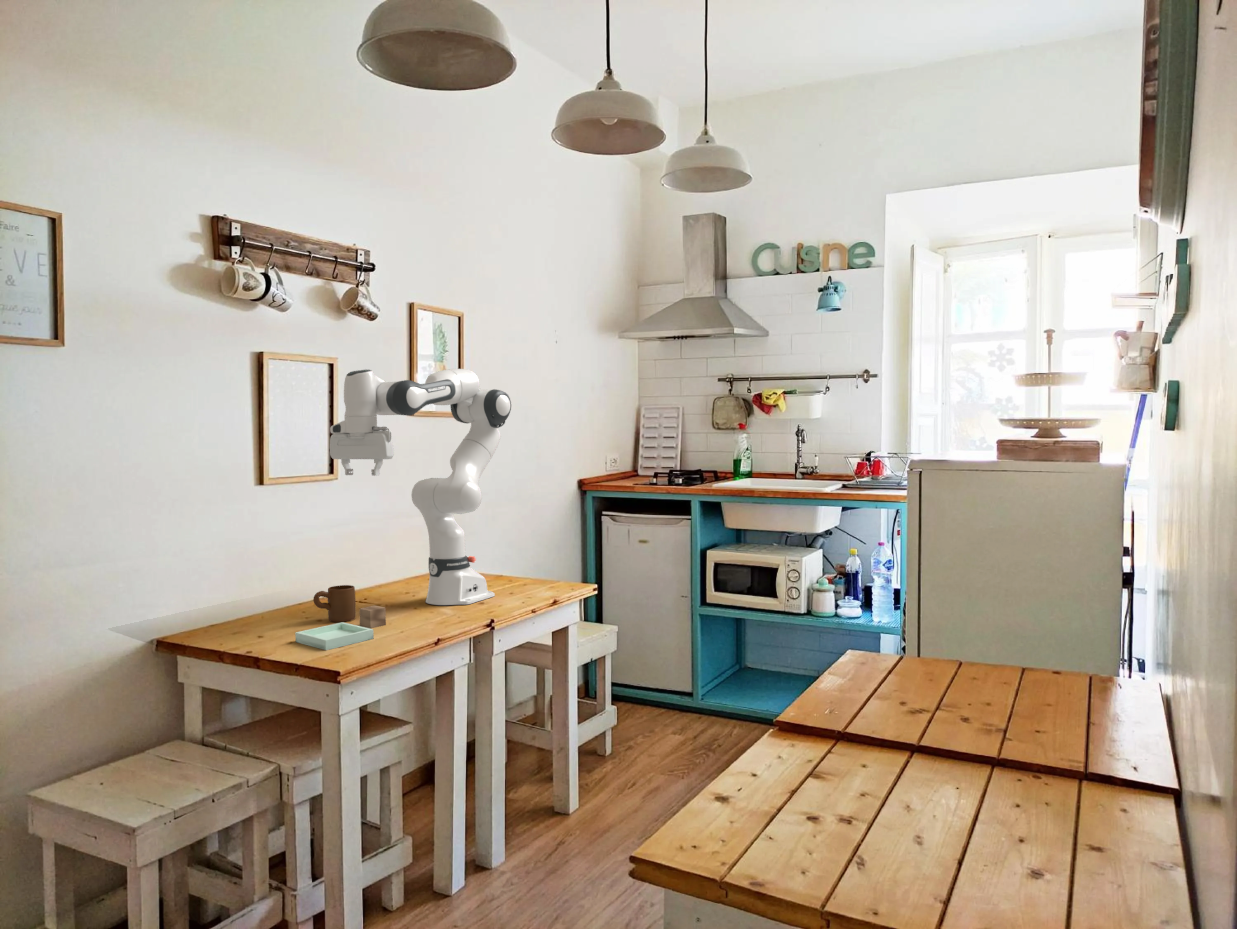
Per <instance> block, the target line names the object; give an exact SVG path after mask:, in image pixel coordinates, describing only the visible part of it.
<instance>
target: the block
mask: <svg viewBox="0 0 1237 929" xmlns="http://www.w3.org/2000/svg"><path fill="white" fill-rule="evenodd" d="M386 615H387V612H386V607H384V606H379V605H370V606H366V607H361V608H359V626H361V627H365V628H370V629H376V628H378V627H383V626H386V625H387V620H386V619H387V617H386Z"/></svg>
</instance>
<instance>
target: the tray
mask: <svg viewBox="0 0 1237 929" xmlns="http://www.w3.org/2000/svg"><path fill="white" fill-rule="evenodd" d="M294 634H295V636H294V637H295V643H298V644H302V645H305V646H309V647H313V648H316V649H319V650H324V651H329V650H332V649H337V648H342V647H345V646H350V645H354V644H358V643H361V642H366V641H370V640H374V636H375V635H374V634H375V633H374V628H366V627H362V626H360V625H356V624H351V623H348V622H336V623H332V624H329V625H322V626H319V627H313V628H309V629H305V630H302V631H301V630H299V631H297V632H295V633H294Z"/></svg>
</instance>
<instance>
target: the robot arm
mask: <svg viewBox="0 0 1237 929" xmlns="http://www.w3.org/2000/svg"><path fill="white" fill-rule="evenodd" d="M480 385H481V384H480V379H479V377H478V375H477V374H476V372H474V371H472V370H471V369H468V368H450V369H443V370H439V371H436V372H433V373H430V374H429V375H428V376H427V377H426V378H425V382H424V383H418V382H416V381H413V380H409V379H406V380H405V379H404V380H399V381H386V380H383V379H382V378H381V377H379V376H377V375H376V374H375V373H374V371H373V370H372V369H361V370H358V369H357V370H352V371H350V372H348V373H347V374H346V375H345V377H344V382H343V403H344V405H345V412H344V414H343V415H344V420H342V421H340V422H338V423H336V424H333V425H331V426H330V427H329V430H330V433H331V436H330V438H329V456H330V457H331V458H332V459H333V460H341V461H340V463H341V465H342V467H343V469H344V475H345V476H353V475H354V469H353V468H351V465H350V463H351V460H373V462H374V466H373V469H371V476H374V477H375V476H376V477H377V476H380V474H381V473H380V470H381V468H382V466H383V463H384V462H383V461H384V460H392V459H393V457H394V455H395V452H394V451H395V450H394V445H393V438H392V430H391V429H390V428H388V427H387V426H378V420H377V419H378V416H407V417H408V416H413V415H415V414H417V413H419V412H420V411H421V410H422V409H423V408H424V407H426V406H428V405H431V404H432V405H434V406H449V405H450V406H449V407H450V411H451V415H452V417H453V418H454V420H456V421H457V422H459V423H461V424H462V423H463V424H470V429H469V431H468V433H467V434H466V435H465V436H464V438H463V439H462V441H461V442H460V443H459V445H458V446H457V448H456V450H455V451H454V452H453V454H452V455H451V456H450V459H449V464H450V468H451V470H452V472H451V474H450V475H449V476H447V477H445V478H444V477H430V478H426V479H425V478H424V479H421V480H418V481H417V482H415V484H414V485H413V487H412V490H411V501H412V503H413V505H414V507H416V508H417V509H418V510H419V512H420V513H421V515H422V517H423V520H424V522H425V525H426V527H427V528H426V529H427V532H428V543H429V544H428V545H429V556H428V572H429V580H428V587H427V588H428V590H427V595H426V599H425V603H426V604H429V605H434V606H455V605H456V606H457V605H463V606H464V605H465V606H466V605H471V604H474V603H477V602H480V601H483V600H487V599H489V598H493V597H495V596H496V595H495V594H496V593H495V592H494V591H491V590H488V584H487V580H486V577H484V576H483V575H482V574H481V573H479V572H478V571H476V569H474V568H472V567H471V563H472V564H473V563H476V561H477V558H476V557H475V556H472V555H470V556H467V555H466V533H465V530H464V529H463V528H462V527H461V526H460V525H459V524H458V523H457V521H456V519H455V516H454V514H456V515H463V514H468V513H469V514H470V513H472V512H475V511H477V510H478V508H479V507H480V505H481V503H482V499H483V497H482V496H483V495H482V490H481V488H480V486H479V483H480V482H479V481H480V478H481V476H482V474H483V472H484V471H485V469H486V467H487V466H488V464H489V462H490V461H491V459H492V458H493V456H494V454H495V453H496V450H497V448H498V446H499V443H500V441H501V437H502V436H501V432H500V430H499V428H501V427H503V426H504V425H505V424H506V420H507V419H508V417H510V415H511V414H510V413H511V410H512V401H511V397H510V396H509V394H508V393H507V392H505V391H504V390H501V389H495V388H494V389H481V388H480ZM377 415H378V416H377Z"/></svg>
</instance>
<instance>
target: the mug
mask: <svg viewBox="0 0 1237 929" xmlns="http://www.w3.org/2000/svg"><path fill="white" fill-rule="evenodd" d="M320 597H321V598H326V599H327V602H321V601H320ZM313 603H314V605H315V607H317V608H318V609H322V610H323V609H325V610H327V611H328V614H327V615H328V617H327V618H328V620H329V621H330V622H332V623H341V622H344V623H347V622H351V621H354V620H355V619H356V616H357V614H356V613H357V612H356V611H357V610H356V589H355V586H354V585H351V584H343V585H333V586H329V587H328V589H327V591H324V590H321V591H320V590H319V591H318V592H315V594H314V596H313Z"/></svg>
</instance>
